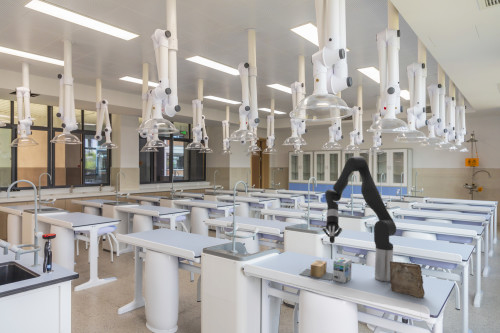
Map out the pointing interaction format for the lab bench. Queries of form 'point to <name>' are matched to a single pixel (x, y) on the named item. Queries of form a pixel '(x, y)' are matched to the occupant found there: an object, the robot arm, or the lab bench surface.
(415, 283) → the mineral sample
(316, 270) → the oak block
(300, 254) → the lab bench surface
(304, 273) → the mat
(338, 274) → the light bulb box
